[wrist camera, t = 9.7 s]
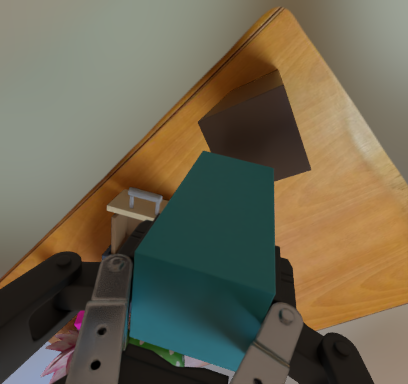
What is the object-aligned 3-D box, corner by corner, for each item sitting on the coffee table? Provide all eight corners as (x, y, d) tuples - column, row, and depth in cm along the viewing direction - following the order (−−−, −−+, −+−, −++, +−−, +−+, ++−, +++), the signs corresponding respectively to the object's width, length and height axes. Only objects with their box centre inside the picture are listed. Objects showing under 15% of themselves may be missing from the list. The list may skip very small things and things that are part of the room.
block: (202, 150, 19) (134, 251, 9) (274, 167, 18) (276, 293, 9) (192, 209, 21) (128, 336, 12) (254, 226, 21) (240, 374, 11)
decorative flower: (77, 300, 79) (38, 349, 66) (140, 338, 80) (114, 394, 67) (58, 333, 89) (21, 381, 76) (113, 366, 91) (87, 419, 78)
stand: (229, 91, 44) (197, 121, 25) (278, 69, 41) (283, 84, 22) (247, 136, 47) (230, 195, 28) (294, 118, 44) (311, 170, 25)
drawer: (124, 170, 54) (106, 185, 48) (190, 187, 53) (179, 204, 47) (122, 240, 63) (107, 259, 57) (179, 256, 61) (168, 278, 55)
